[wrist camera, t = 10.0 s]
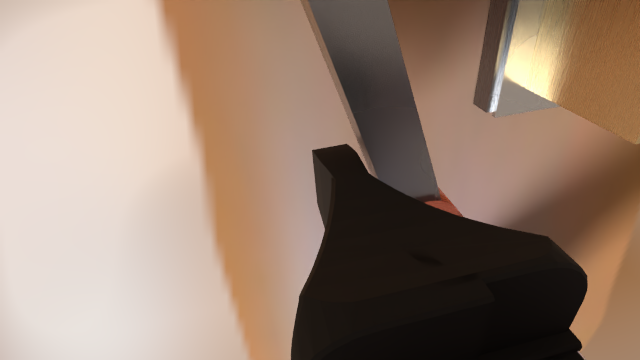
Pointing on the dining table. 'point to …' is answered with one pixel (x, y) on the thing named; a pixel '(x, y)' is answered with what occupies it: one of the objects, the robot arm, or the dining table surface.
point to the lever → (376, 93)
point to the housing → (591, 62)
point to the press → (509, 58)
